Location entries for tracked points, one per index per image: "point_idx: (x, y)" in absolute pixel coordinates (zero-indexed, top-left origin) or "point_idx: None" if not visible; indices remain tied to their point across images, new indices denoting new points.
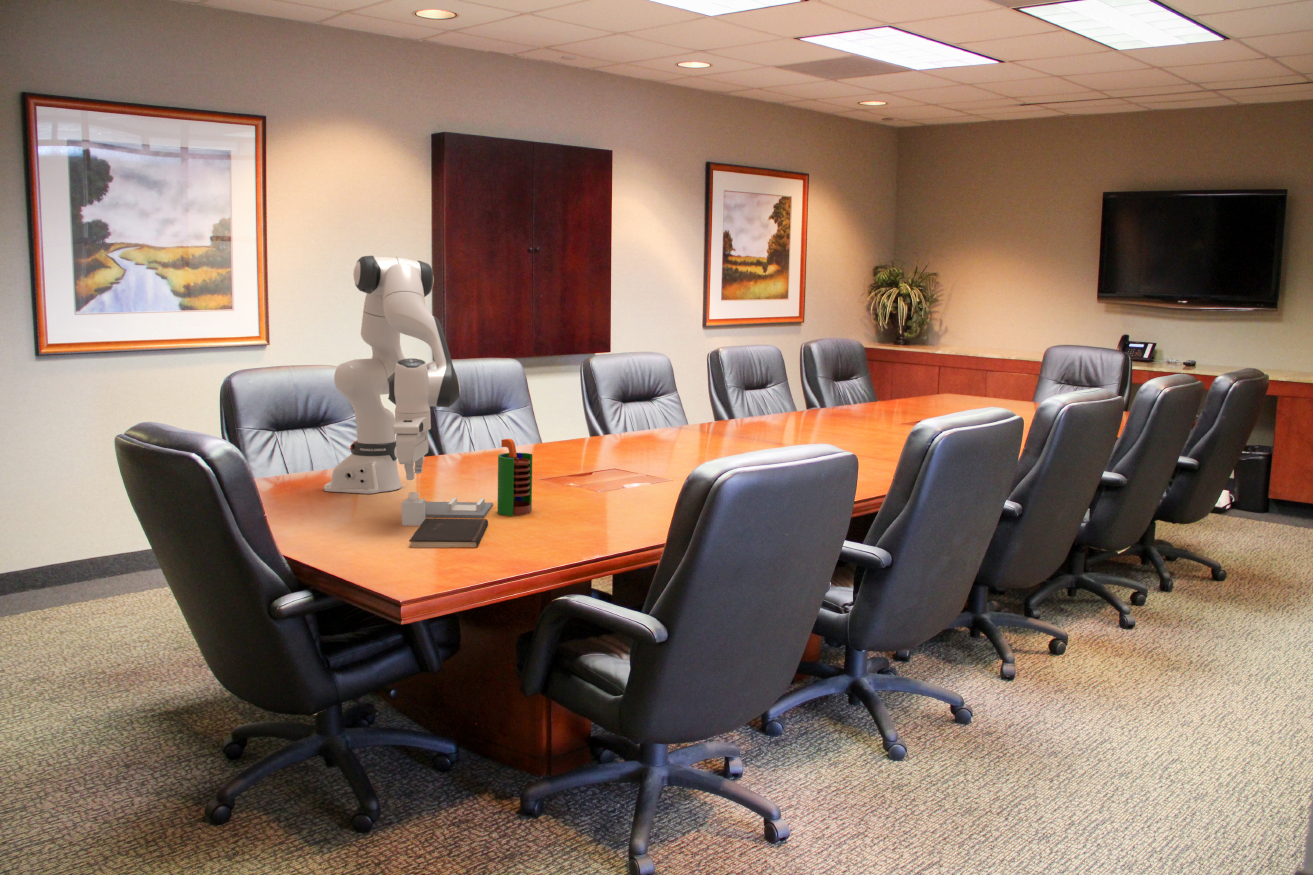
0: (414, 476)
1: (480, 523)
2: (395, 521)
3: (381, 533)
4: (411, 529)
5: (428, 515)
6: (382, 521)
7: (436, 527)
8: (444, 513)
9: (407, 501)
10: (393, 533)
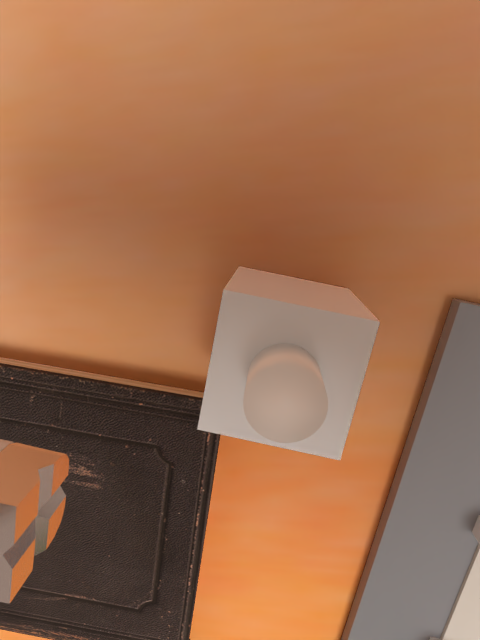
0: (40, 548)
1: (90, 635)
2: (346, 224)
3: (50, 158)
4: (135, 318)
5: (420, 411)
6: (361, 142)
7: None
8: (425, 495)
9: (263, 334)
10: (49, 226)
